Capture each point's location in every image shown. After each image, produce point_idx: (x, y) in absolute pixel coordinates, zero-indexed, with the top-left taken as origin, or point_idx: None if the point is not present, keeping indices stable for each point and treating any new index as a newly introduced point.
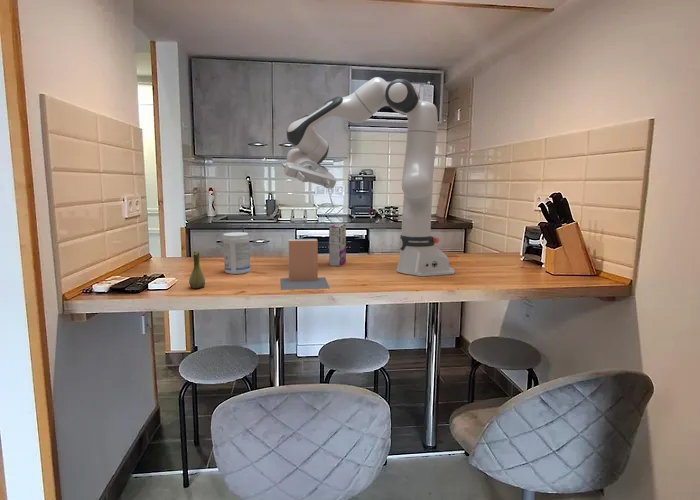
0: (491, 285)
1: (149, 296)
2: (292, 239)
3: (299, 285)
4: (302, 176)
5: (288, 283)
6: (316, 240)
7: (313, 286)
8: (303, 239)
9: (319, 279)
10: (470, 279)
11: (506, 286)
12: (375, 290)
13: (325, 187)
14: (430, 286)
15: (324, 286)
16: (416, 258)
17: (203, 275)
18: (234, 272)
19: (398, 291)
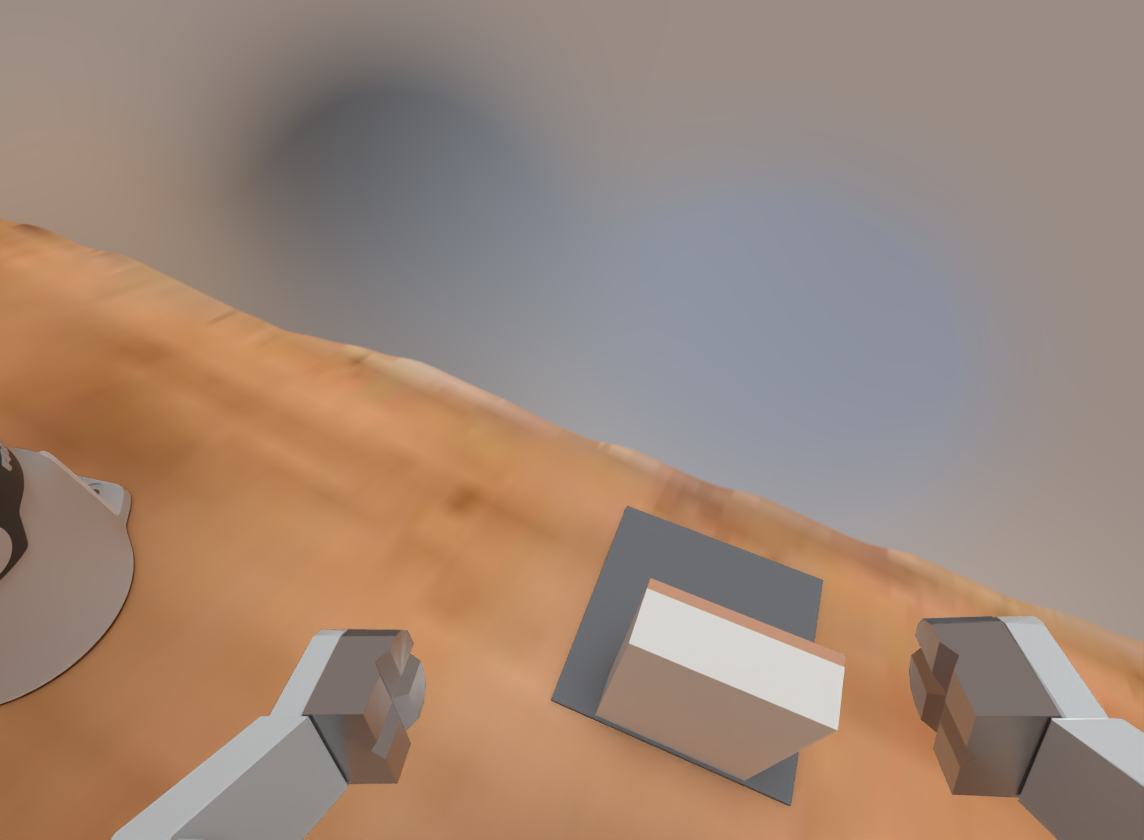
0: (83, 294)
1: None
2: (806, 715)
3: (730, 605)
4: (1075, 689)
5: None
6: (654, 590)
7: (678, 561)
8: (725, 677)
9: (600, 667)
10: (25, 370)
11: (62, 268)
12: (481, 420)
13: (418, 684)
14: (267, 372)
15: (635, 540)
16: (70, 477)
17: None
18: None
19: (421, 378)
